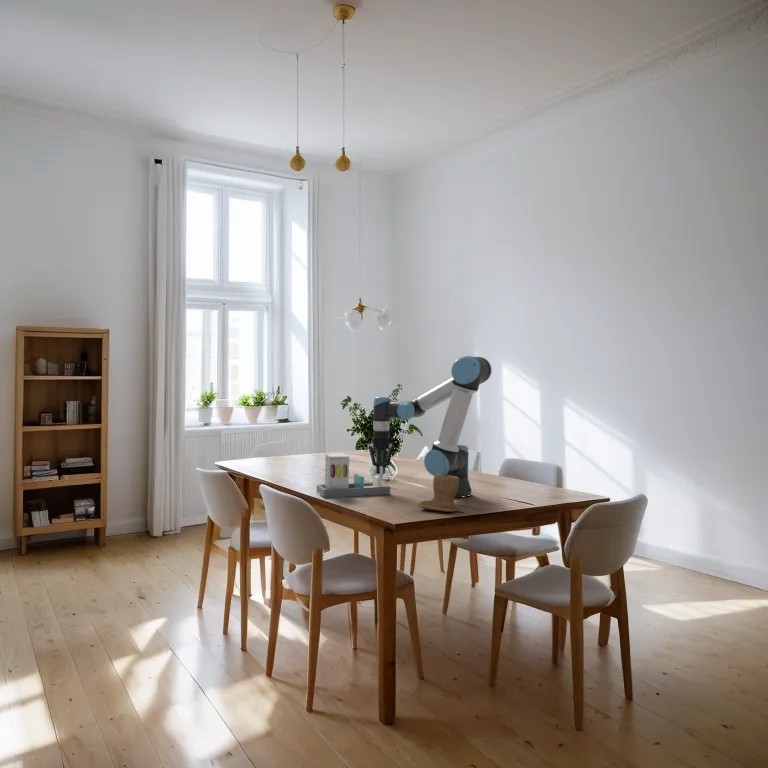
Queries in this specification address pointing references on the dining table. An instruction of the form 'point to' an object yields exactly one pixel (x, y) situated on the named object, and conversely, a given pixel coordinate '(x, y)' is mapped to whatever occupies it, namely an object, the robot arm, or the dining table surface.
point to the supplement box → (336, 471)
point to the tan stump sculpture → (442, 494)
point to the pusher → (360, 481)
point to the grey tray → (353, 491)
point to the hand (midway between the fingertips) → (380, 480)
